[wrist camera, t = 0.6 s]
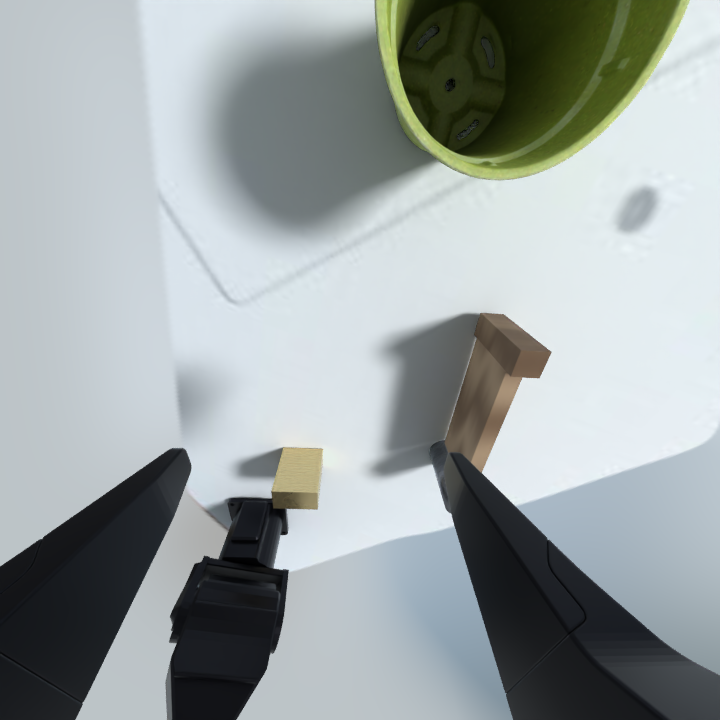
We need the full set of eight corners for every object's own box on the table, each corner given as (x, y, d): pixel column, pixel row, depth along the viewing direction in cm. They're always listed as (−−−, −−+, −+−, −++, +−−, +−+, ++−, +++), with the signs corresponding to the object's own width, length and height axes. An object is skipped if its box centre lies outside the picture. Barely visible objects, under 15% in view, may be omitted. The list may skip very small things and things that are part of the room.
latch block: (322, 465, 31) (317, 509, 26) (284, 463, 30) (273, 508, 26) (322, 448, 29) (317, 492, 25) (283, 447, 29) (271, 491, 25)
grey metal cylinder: (454, 461, 31) (474, 515, 26) (426, 460, 31) (441, 514, 25) (461, 440, 29) (484, 494, 24) (432, 439, 29) (449, 493, 24)
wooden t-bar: (459, 443, 28) (483, 498, 23) (441, 442, 28) (461, 498, 23) (503, 314, 22) (551, 352, 16) (480, 312, 22) (521, 350, 16)
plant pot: (489, -117, 12) (697, -588, 5) (562, 105, 16) (742, 29, 9) (328, 65, 15) (305, -60, 8) (422, 219, 19) (469, 236, 12)
